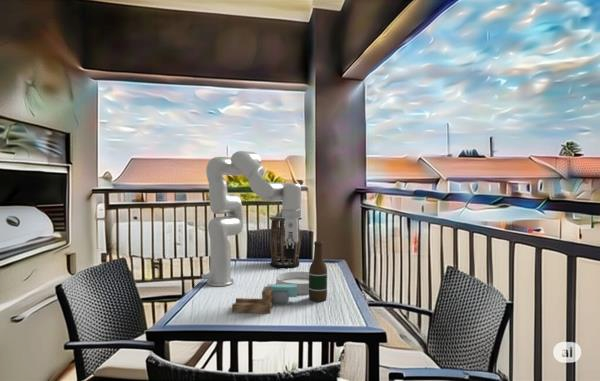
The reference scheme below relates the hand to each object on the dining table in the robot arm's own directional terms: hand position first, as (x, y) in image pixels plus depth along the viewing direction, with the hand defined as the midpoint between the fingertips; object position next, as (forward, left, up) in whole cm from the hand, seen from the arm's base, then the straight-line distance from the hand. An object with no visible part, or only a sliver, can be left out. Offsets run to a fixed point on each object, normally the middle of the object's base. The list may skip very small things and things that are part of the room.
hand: (290, 256), depth 152 cm
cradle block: (-5, -1, -19) cm, 19 cm away
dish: (+3, +20, -19) cm, 28 cm away
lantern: (-7, +65, -19) cm, 68 cm away
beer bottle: (+11, +3, -19) cm, 22 cm away
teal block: (-3, -1, -14) cm, 14 cm away
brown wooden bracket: (-14, -11, -19) cm, 25 cm away
